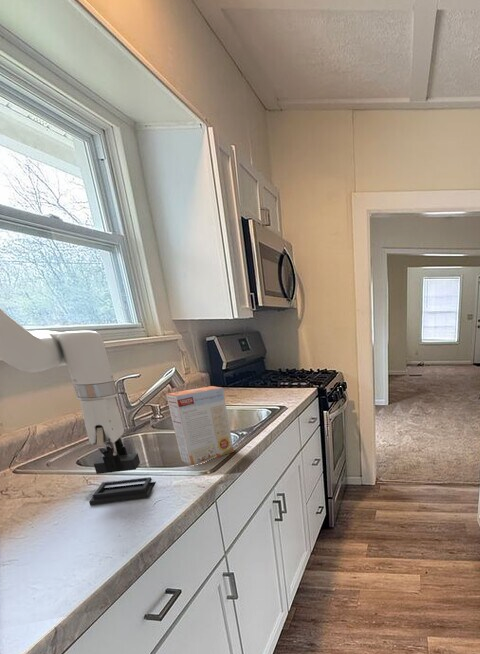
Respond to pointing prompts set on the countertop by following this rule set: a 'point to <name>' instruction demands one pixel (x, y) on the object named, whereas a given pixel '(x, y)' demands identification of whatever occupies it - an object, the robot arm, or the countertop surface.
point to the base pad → (122, 491)
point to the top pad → (127, 462)
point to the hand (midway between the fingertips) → (118, 466)
